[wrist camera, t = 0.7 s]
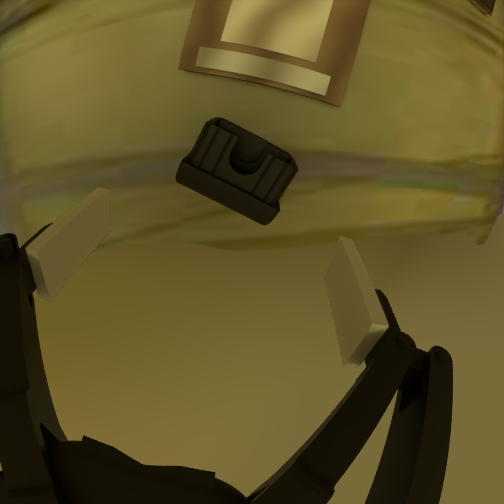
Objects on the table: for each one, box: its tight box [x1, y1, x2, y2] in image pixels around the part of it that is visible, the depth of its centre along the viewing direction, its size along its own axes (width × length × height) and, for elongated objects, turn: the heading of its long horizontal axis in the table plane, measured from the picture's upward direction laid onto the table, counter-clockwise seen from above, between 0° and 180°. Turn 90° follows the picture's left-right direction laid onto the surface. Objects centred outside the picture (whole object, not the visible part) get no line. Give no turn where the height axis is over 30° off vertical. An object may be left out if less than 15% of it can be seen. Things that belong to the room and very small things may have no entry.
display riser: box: [178, 0, 370, 107], centre depth 19 cm, size 16×18×4 cm
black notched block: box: [176, 117, 298, 225], centre depth 28 cm, size 10×7×7 cm
